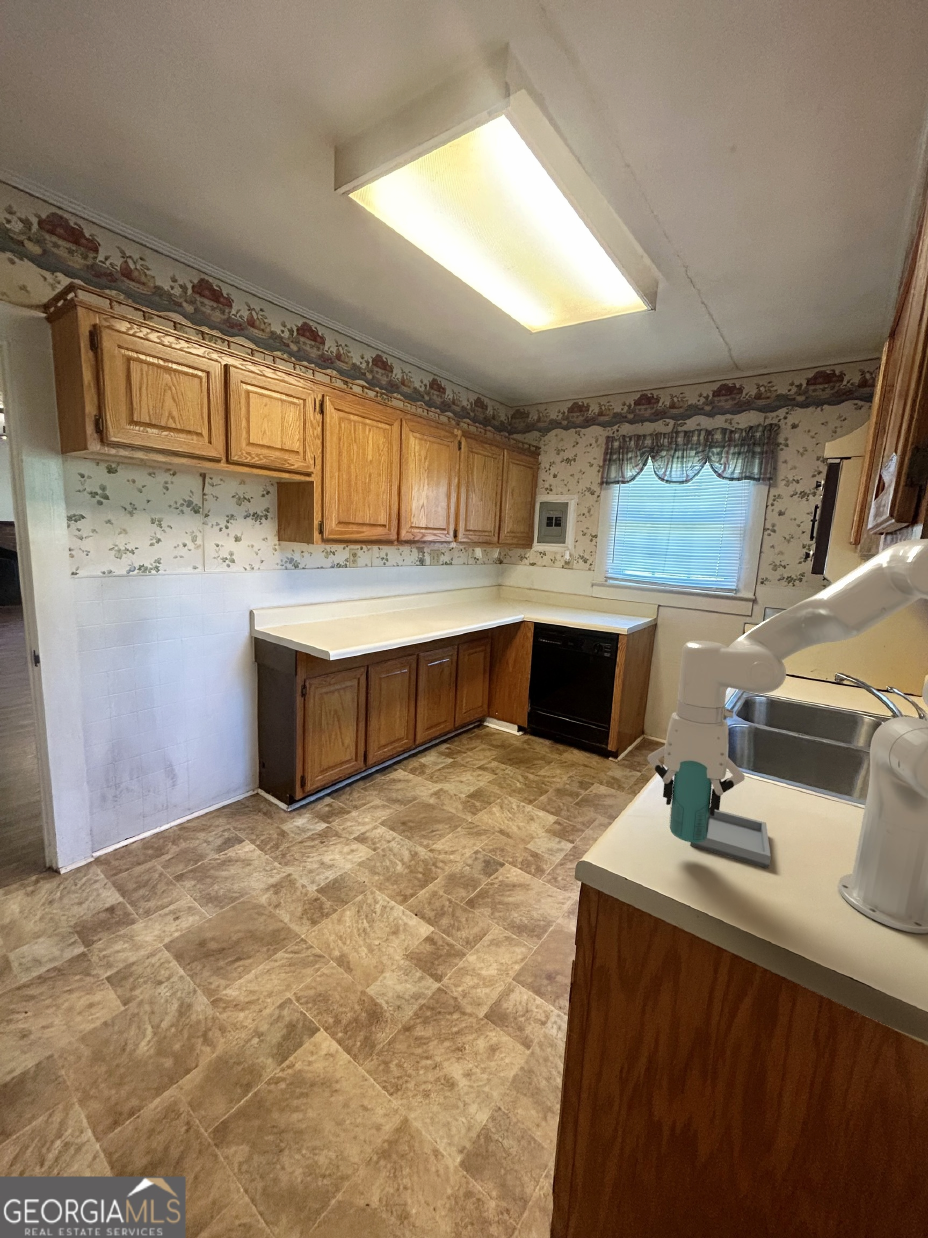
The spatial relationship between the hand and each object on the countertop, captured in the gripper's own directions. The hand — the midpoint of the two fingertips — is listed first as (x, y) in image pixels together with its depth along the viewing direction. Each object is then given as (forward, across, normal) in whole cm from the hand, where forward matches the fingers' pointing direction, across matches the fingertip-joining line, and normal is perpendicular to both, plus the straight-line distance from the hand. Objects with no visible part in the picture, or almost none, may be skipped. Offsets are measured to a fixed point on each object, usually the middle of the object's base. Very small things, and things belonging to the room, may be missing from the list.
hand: (690, 806), depth 90 cm
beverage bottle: (+7, 0, 0) cm, 7 cm away
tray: (+11, -7, -12) cm, 17 cm away
